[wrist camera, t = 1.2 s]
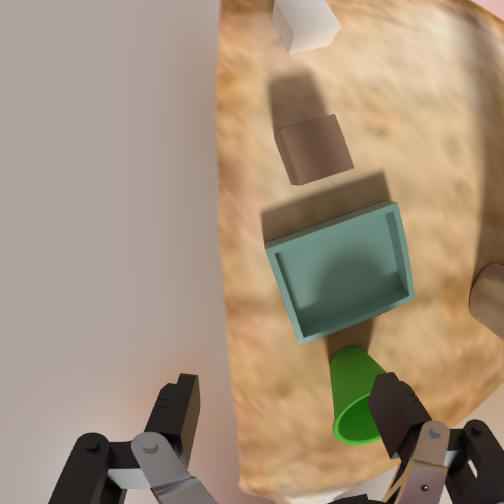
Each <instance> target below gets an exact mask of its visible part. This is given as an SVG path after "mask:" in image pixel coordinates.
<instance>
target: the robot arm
mask: <svg viewBox="0 0 504 504" xmlns="http://www.w3.org/2000/svg"><path fill="white" fill-rule="evenodd" d="M469 305H470V312H471V314H472V316H473V317H474V318H475V319H477V320H478V321H479V322H481V323H482V324H483V325H485V326H486V327H487V328H488V329H490V330H491V331H492V332H493V333H495V334H496V335H497V336H499V337H500V338H501V339H502V340H504V265H500V264H498V263H493V264H490V265H488V266H487V267H486V268H485V269H483V271H482V272H481V273H480V274H479V276H478V278H477V279H476V281H475V283H474V286H473V288H472V291H471V296H470V303H469ZM199 392H200V391H199V381H198V375H192V374H183V373H181V374H180V376H179V378H178V381H177V384H171V383H168V384H167V385H165V386H164V387H163V388H162V389H161V390H160V393H159V395H158V397H157V400H156V402H155V406H154V407H153V410H152V412H151V415H150V417H149V420H148V423H147V425H146V428H145V430H144V432H143V433H141V434H139V435H137V436H136V437H135V438H134V439H133V440H132V441H128V442H109V441H108V439H107V438H106V437H105V436H103V435H101V434H99V433H86V434H84V435H82V436H80V437H79V438H78V439H77V441H76V443H75V445H74V447H73V450H72V451H71V454H70V456H69V458H68V460H67V462H66V464H65V466H64V468H63V471H62V473H61V475H60V477H59V480H58V482H57V484H56V486H55V489H54V491H53V493H52V496H51V498H50V500H49V503H48V504H124V500H125V496H126V492H127V489H131V488H132V489H134V488H135V489H136V488H150V489H151V491H152V493H153V494H154V496H155V498H156V499H157V501H158V503H159V504H218V503H217V501H215V499H214V498H213V497H212V496H211V494H210V493H209V492H208V491H207V489H206V488H205V487H204V486H203V484H202V483H201V482H200V481H199V480H198V479H197V478H196V477H193V476H191V474H190V473H189V472H188V470H187V469H188V465H189V460H190V456H191V450H192V446H193V441H194V436H195V431H196V426H197V422H198V417H199V413H200V393H199ZM368 408H369V411H370V413H371V416H372V418H373V420H374V422H375V425H376V427H377V429H378V431H379V434H380V436H381V438H382V441H383V443H384V445H385V448H386V450H387V452H388V455H389V457H390V459H395V458H399V457H400V459H401V462H400V463H399V465H398V468H397V470H396V472H395V475H394V477H393V479H392V482H391V484H390V486H389V488H388V491H387V493H386V494H385V496H384V498H383V499H382V501H376V500H368V497H367V494H363V495H358V496H353V497H347V498H341V499H339V500H336V501H333V502H330V503H328V504H439V501H440V497H441V494H442V491H443V487H444V484H445V486H446V488H447V490H448V493H449V496H450V498H451V500H452V503H453V504H504V450H503V449H502V447H501V446H500V444H499V443H498V441H497V439H496V438H495V436H494V435H493V434H492V432H491V431H490V429H489V428H488V426H487V425H486V424H485V423H484V422H483V421H480V420H476V419H474V420H470V421H468V422H467V423H466V425H465V426H464V428H463V429H449V428H448V427H447V425H445V424H444V423H443V422H440V421H436V420H432V419H431V417H430V415H429V414H428V412H427V411H426V409H425V408H424V406H423V405H422V403H421V402H420V401H419V399H418V397H417V396H416V395H415V393H414V391H413V390H412V388H411V387H410V386H409V385H408V384H406V383H405V382H403V381H399V379H398V378H397V376H396V375H395V373H394V372H389V373H381V374H378V375H377V376H376V378H375V381H374V384H373V387H372V390H371V393H370V396H369V399H368ZM470 459H471V461H472V462H473V464H474V466H475V468H476V470H477V478H476V477H475V475H474V474H473V471H472V470H471V468H470V466H469V464H468V462H469V460H470ZM186 468H187V469H186Z"/></svg>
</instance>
